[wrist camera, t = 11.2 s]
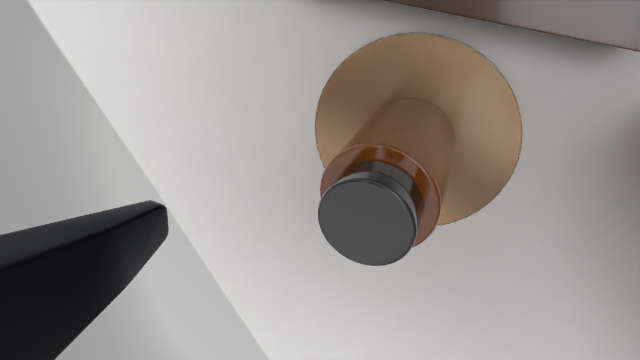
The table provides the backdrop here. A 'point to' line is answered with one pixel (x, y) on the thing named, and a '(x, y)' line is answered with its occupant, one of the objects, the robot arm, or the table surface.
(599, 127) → the table surface
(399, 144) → the spice bottle
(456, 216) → the cork coaster
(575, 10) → the spice shelf
